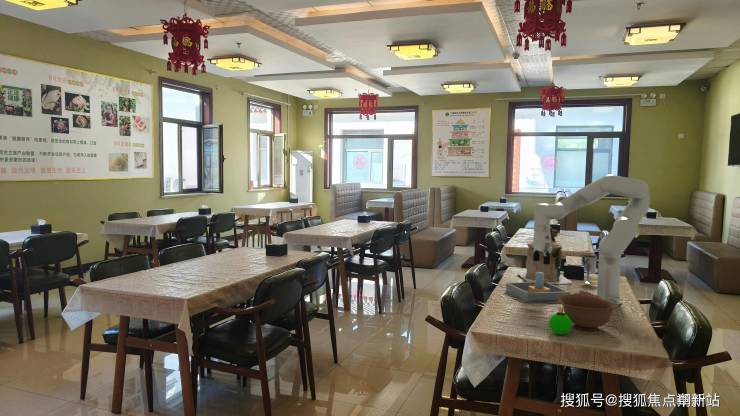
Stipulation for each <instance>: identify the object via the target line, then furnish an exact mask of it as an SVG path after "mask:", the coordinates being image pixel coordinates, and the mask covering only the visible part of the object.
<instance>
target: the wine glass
mask: <svg viewBox="0 0 740 416" xmlns="http://www.w3.org/2000/svg"><path fill="white" fill-rule="evenodd" d="M597 259H598V257H597V255H594V254H581V257H580V261H581V262H580V263H581V266H582V268H583V269H584V270H585V271H586V276H587V277H586V280H581V281H580V283H581V284H587V285H593V284H592V283H594V284H595V282H594V281H591V280H589V279H590V273H591V271H592V270H593V269H594V268H595V267H596V264H597V262H598V261H597Z"/></svg>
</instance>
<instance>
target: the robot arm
mask: <svg viewBox="0 0 740 416" xmlns="http://www.w3.org/2000/svg"><path fill="white" fill-rule="evenodd" d="M610 194H611V195H616V196H621V197H627V198H629V201H628V203H627V205H626V206H625V208H624V209H623V211H622V212H621V214H619V216H618V217H617V218H616V219H615V221H614V222H613V226H612V228H611V230H610V231H609V233H607V235H606V236H604V237H602V238H601V239H600V241H599V244H598V264H597V265H598V268H597V281H596V282H597V283H596V284H597V285H596V286H597V287H596V295H597V296H599V297H601V298H602V299H605V300H608V301H611V302H614V303H616V304H618V305H621V304H623V301H624V300H623V298H622V297H621V294H620V286H621V285H620V284H621V283H620V282H621V265H622V262H621V261H622V254H623V253H624V252H625V251H626V249H627V247H628V246H629V245H630V244H631V242H632V241H633V239H634V238H635V237H636V235H637V233H638V225H640V223H641V221H642V219H643V218H644V217H645V215H646V213H647V212H648V210H649V208H650V205H651V196H650V192H649V186H648V184H647V182H646V181H644V180H642V179H637V178H631V177H626V176H620V175H615V174H605V175H604V176H602V177H600V178H598V179H596V180H595V181H593V182H591V183H589V184H587V185H585V186H584V187H581V188H580V189H578V190H576V191H575V192H574V193H572V194H570V195H568V196H567V197H565V198H563V199H562V200H560V201H557V202H555V203H553V204H549V203H535V205H534V210H533V215H534V216H533V241H532V242H533V243H532V247H533V248H532V249H533V261H540V253H539V251H541V252H543V253H544V259H543V264H550V256H551V252H552V245H551V234H550V227H551V219H555V220H561V219H564V218H565V217H566V216H567V215H569V214H570V213H572V212H574V211H576V210H579V209H580V208H582V207H586V206H589V205H591V204H593V203H595V202H597V201H599V200H600V199H603V198H604V197H607V196H608V195H610ZM546 252H547V253H546Z"/></svg>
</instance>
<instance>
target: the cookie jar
mask: <svg viewBox="0 0 740 416" xmlns="http://www.w3.org/2000/svg"><path fill="white" fill-rule="evenodd" d="M550 234H551V245H552V252H551V256H550V264H543V259H544V253H543V252H541V251H539V253H540V261H533V249H532V248H533V247H532V243H533V241H529V242H527V244H526V245H527V248H528V250H527V255H526V261H525V270H526V271H522V270H521V271H520V270H517V272H516V273H517V276H520V277H521V278H522V279H523V280H524V281H525V282H535V278H536V272H543V273H544V282H548V283H550V284H552V285H567V286H569V285H572V280H570V279H567V277H565V276H563V275H561V274H562V273H561V269H560V268H561V267H560V266H561V263H562V261H563V258H562V257H563V256H562V254H563V252H562V250H563V246H562V244H560V243H559V242H557V241H556V237H558V230H557V229H553V228H552V226H550ZM546 253H547V252H546Z"/></svg>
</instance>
